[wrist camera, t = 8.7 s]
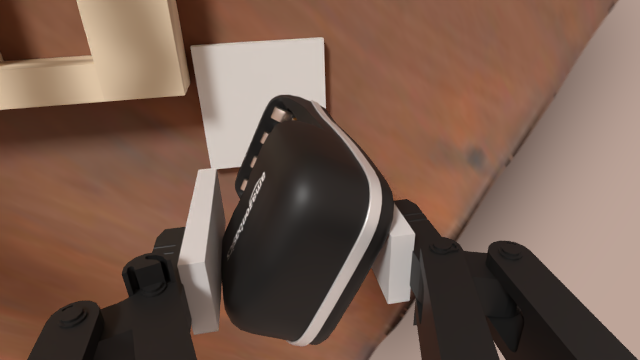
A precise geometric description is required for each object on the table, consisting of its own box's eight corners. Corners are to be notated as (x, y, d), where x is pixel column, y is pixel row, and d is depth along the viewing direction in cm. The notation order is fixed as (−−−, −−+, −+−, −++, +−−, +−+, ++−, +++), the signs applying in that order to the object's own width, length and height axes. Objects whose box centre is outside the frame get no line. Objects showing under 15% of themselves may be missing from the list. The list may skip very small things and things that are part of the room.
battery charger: (262, 74, 20) (297, 160, 10) (328, 102, 22) (416, 203, 12) (215, 191, 23) (206, 356, 13) (278, 210, 24) (315, 373, 14)
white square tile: (212, 165, 32) (211, 169, 31) (191, 45, 27) (190, 47, 27) (325, 153, 33) (327, 157, 32) (321, 37, 29) (323, 38, 28)
